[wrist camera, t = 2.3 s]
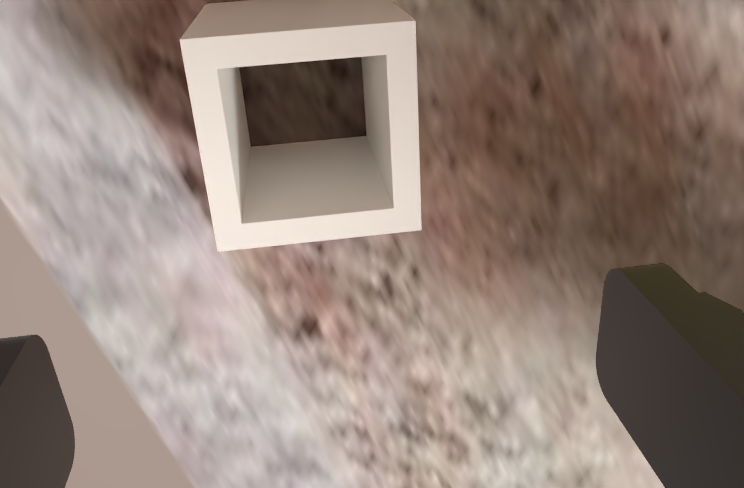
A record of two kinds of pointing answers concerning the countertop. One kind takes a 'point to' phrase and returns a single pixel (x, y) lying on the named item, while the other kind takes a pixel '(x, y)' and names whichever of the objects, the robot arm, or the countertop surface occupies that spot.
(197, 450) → the countertop surface
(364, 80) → the square tube sleeve
